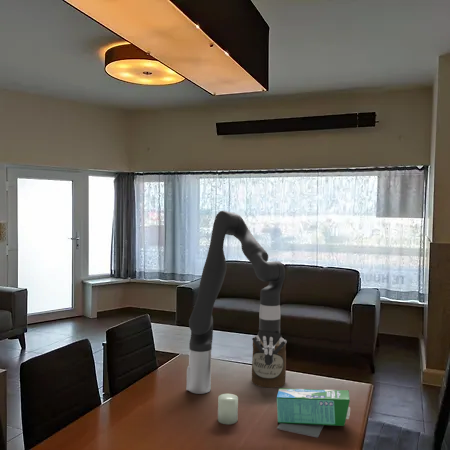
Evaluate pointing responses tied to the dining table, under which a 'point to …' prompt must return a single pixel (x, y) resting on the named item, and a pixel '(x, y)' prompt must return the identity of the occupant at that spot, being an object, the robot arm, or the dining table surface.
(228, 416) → the pale green rounded cylinder
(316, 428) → the display mat
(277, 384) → the wooden container
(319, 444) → the dining table surface
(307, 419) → the milk carton
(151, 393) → the dining table surface
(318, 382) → the dining table surface
